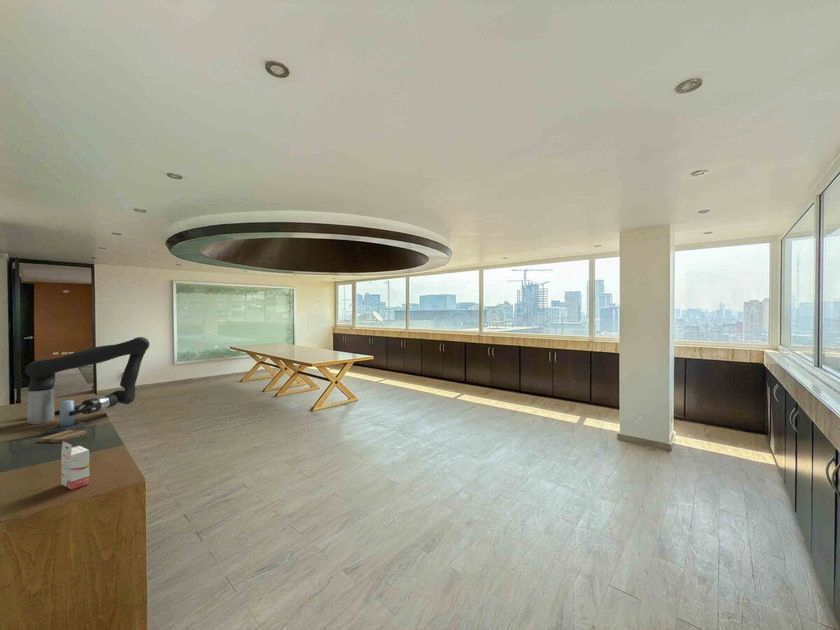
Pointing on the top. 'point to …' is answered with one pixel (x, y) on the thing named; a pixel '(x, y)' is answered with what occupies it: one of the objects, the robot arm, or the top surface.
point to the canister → (66, 413)
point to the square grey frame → (76, 425)
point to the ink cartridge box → (75, 466)
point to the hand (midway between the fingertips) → (62, 413)
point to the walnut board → (62, 436)
